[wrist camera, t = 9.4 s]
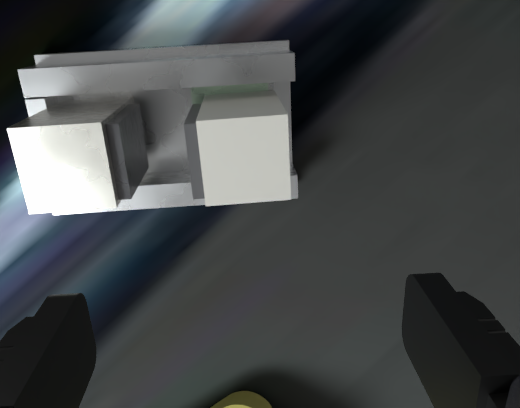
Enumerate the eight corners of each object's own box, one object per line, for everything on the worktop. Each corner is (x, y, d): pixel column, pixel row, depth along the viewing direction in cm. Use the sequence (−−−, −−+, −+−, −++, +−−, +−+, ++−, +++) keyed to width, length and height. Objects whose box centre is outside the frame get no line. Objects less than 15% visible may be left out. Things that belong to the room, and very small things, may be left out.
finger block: (274, 90, 27) (287, 114, 20) (277, 157, 28) (291, 199, 22) (194, 95, 26) (181, 122, 20) (201, 162, 28) (192, 207, 22)
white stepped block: (287, 39, 27) (308, 48, 19) (291, 186, 30) (310, 241, 23) (40, 54, 26) (-35, 69, 19) (73, 201, 30) (20, 263, 22)
